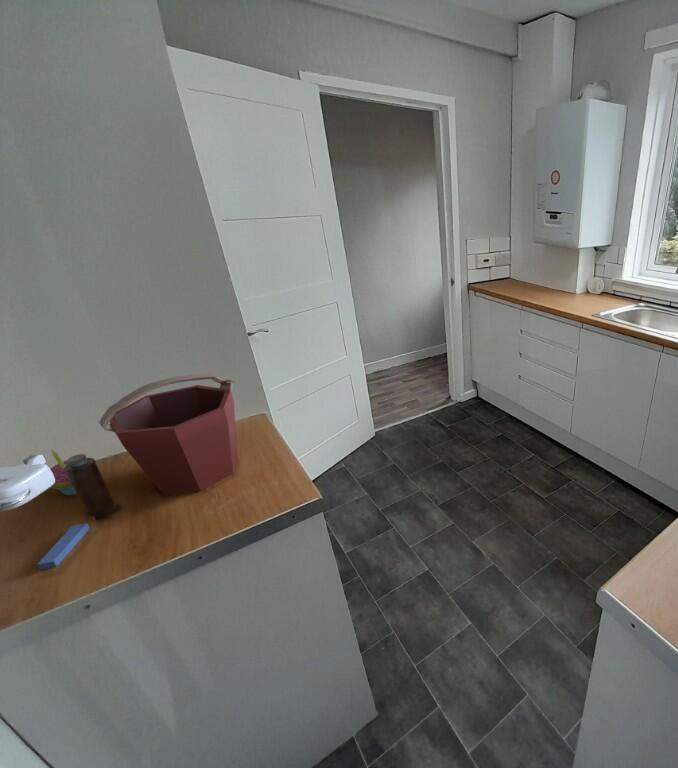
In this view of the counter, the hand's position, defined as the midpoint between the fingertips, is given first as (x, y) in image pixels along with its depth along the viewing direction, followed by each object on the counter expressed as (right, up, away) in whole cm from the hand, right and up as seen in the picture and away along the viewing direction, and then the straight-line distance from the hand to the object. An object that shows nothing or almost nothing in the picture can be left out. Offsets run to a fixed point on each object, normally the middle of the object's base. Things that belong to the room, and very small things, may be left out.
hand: (4, 461), depth 68 cm
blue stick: (+1, -19, +9) cm, 21 cm away
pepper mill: (-3, -15, +19) cm, 24 cm away
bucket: (+8, -9, +32) cm, 34 cm away
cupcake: (-15, -12, +26) cm, 32 cm away
